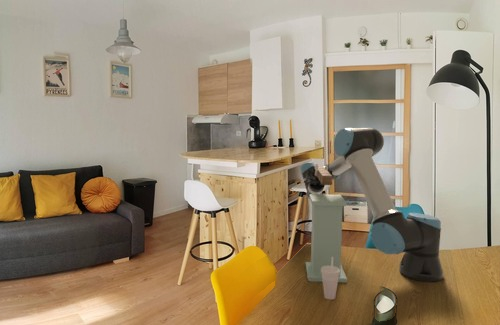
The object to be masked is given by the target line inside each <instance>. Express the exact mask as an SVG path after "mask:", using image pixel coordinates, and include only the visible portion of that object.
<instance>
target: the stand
mask: <svg viewBox="0 0 500 325" xmlns="http://www.w3.org/2000/svg"><path fill="white" fill-rule="evenodd" d="M309 198H310V199H309ZM309 198H308V199H309V200H310V203H311V234H310V235H311V239H310V240H311V244H310V245H311V247H310V248H311V249H310V261H305V270H306V277H307V280H308V282H322V283H323V281H322V273H321V267H323V266H331V261H332V257H333V266H335V267H337V268H339V269H340V274H339V278H338V283H346V284H347V282H348V279H347V276H346V273H345V271H344V269H343V266H342V238H343V236H342V235H343V234H342V233H343V207H345V206H347V201H346V200H345V199H344V198H343V196H342V195H341V194H323V193H322V194H310V196H309Z"/></svg>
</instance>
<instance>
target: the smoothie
mask: <svg viewBox="0 0 500 325" xmlns="http://www.w3.org/2000/svg"><path fill="white" fill-rule="evenodd" d="M321 273H322V281H323V282H322V288H323V296H324V299H327V300H335V299H336V296H337V295H336V294H337V290H338V284H339V282H338V278H339V274H340V269H339V268H337V267H335V266H333V257H332V261H331V266H323V267H321Z"/></svg>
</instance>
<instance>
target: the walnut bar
mask: <svg viewBox="0 0 500 325" xmlns="http://www.w3.org/2000/svg"><path fill="white" fill-rule="evenodd" d="M316 176H317V177H318V179H319V180H320V182H321V184H322V185H325V186H332V185H333V180H332V175H331V174H330V173H329V172H328V171H327V170H326V169H325V168H324V167H318V171H317V175H316Z"/></svg>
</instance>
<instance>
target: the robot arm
mask: <svg viewBox="0 0 500 325" xmlns="http://www.w3.org/2000/svg"><path fill="white" fill-rule="evenodd" d="M334 136H335V137H334V140H333V149H334V153H335V154H336V155H337V156H339V157H337V158H335V160H333V161H331V162H330V163H329V164H328V163H325V165H319V166H318V163H316V164H314V163H313V162H312V161H307V162H304V163H302V164H301V165H300V172H301V173H300V174H301V175H302V179H303V183H304V186H305V190H306V194H305V195H306V196H307V199H308V200H310V198H309V196H310V194H323V191H324V188H325V186H326V185H322V184H321V182H320V180H319V179H318V177H317V176H316V175H317V171H318V167H324V168H325V169H326V170H327V171H328V172H329V173H330V174H331V175H332V181H334V180H337V179H340V178H341V176H342V174H343V173H344V172H346V171H347V170H349V169H350V168H352V169H353V172H354V175H355V177H356V179H357V181H358V183H359V186H360V188H361V191H362V193H363V195H364V197H365V200H366V202H367V204H368V207H369V208H370V211H371V213H372V216H373V219H372V220H371V224H372V227H371V229H370V238H371V241H372V243H373V245H374V247H375V248H376V249H377V250H378V251H379V252H381V253H383V254H384V255H389V256H390V255H400V254H401V253H403V256H402V258H401V260H400V262H399V272H400V273H401V274H402V275H404V276H405V277H408V278H410V279H412V280H416V281H421V282H425V283H426V282H429V283H431V282H432V283H433V282H439V281H441V280H443V278H444V270H443V267H442V264H441V261H440V260H441V259H440V245H441V244H440V243H441V231H442V228H441V226H442V225H441V223H442V222H441V220H440V219H439V218H438V217H436V216H433V215H429V214H424V213H419V212H409V213H407V215H406V216H405V215H404V213H403V211H401V210H398V209H397V208H396V206H395V204H394V202H393V200H392V198H391V196H390V194H389V191H388V189H387V187H386V185H385V182H384V181H383V179H382V177H381V174H380V172H379V170H378V167H377V166H376V163H375V161H374V160H373V157H374V156H376V155H378V153H380V152H381V150H382V149H383V147H384V143H385V139H384V136H383V134H382V133H381V131H379V130H378V129H377V128H374V127H354V128H353V127H345V128H340V129H339V130H338V131H337V132H336V134H335V135H334Z"/></svg>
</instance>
